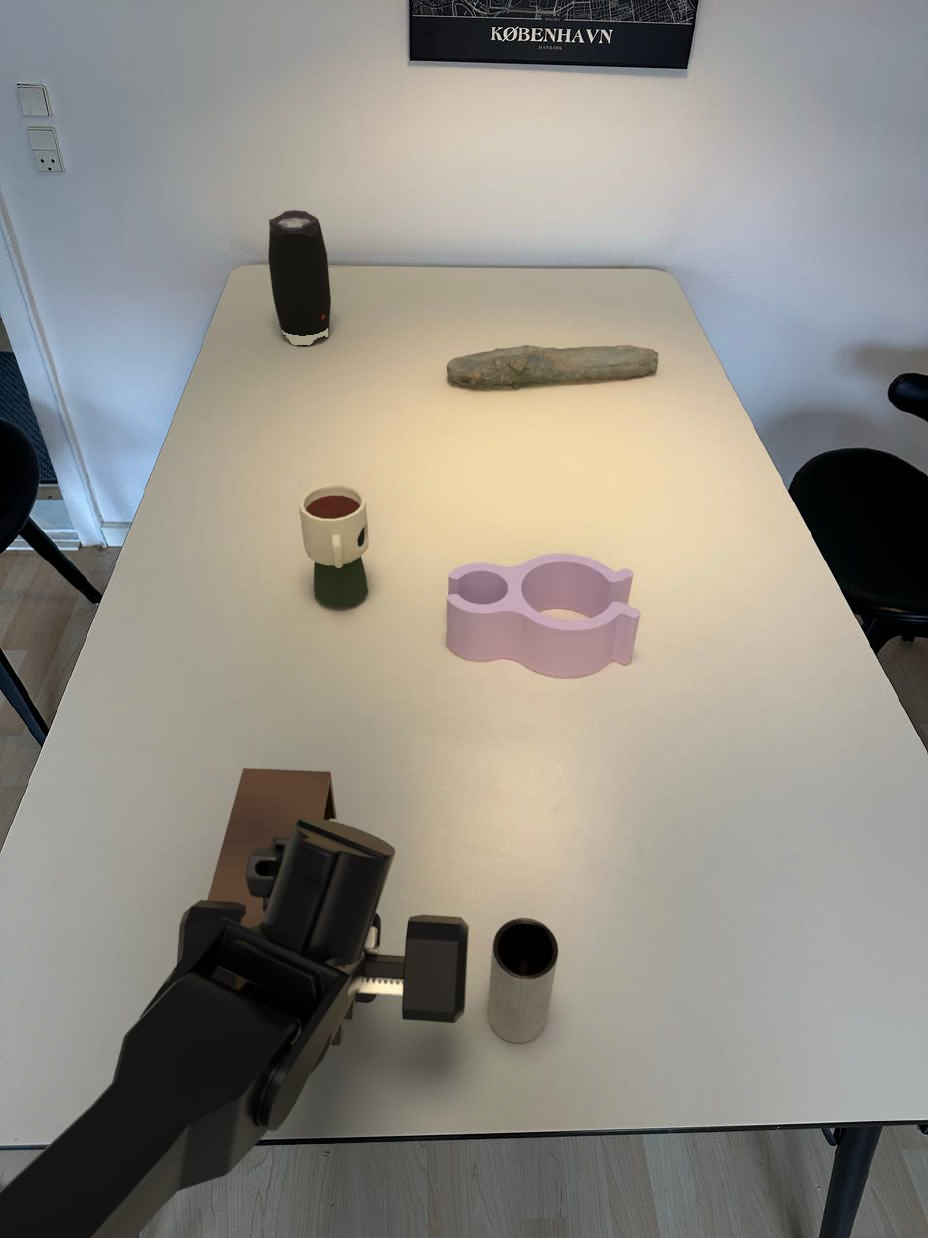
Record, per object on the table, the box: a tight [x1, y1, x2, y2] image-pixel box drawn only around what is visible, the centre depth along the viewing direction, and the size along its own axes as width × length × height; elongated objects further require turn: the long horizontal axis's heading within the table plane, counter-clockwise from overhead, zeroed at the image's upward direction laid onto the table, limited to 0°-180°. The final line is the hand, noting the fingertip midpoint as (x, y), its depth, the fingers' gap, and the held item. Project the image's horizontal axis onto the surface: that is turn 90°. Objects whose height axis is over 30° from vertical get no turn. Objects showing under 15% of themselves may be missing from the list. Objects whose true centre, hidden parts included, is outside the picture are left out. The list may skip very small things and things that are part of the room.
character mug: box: [298, 483, 370, 607], centre depth 100 cm, size 11×7×13 cm, turn 9°
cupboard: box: [206, 767, 338, 990], centre depth 71 cm, size 15×9×10 cm, turn 178°
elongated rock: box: [446, 344, 660, 390], centre depth 144 cm, size 35×5×10 cm
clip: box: [446, 553, 641, 679], centre depth 98 cm, size 20×12×7 cm, turn 88°
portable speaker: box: [267, 209, 332, 336], centre depth 148 cm, size 9×9×20 cm
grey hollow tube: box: [487, 917, 559, 1044], centre depth 65 cm, size 4×4×10 cm
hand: (346, 927), depth 67 cm, fingers closed
